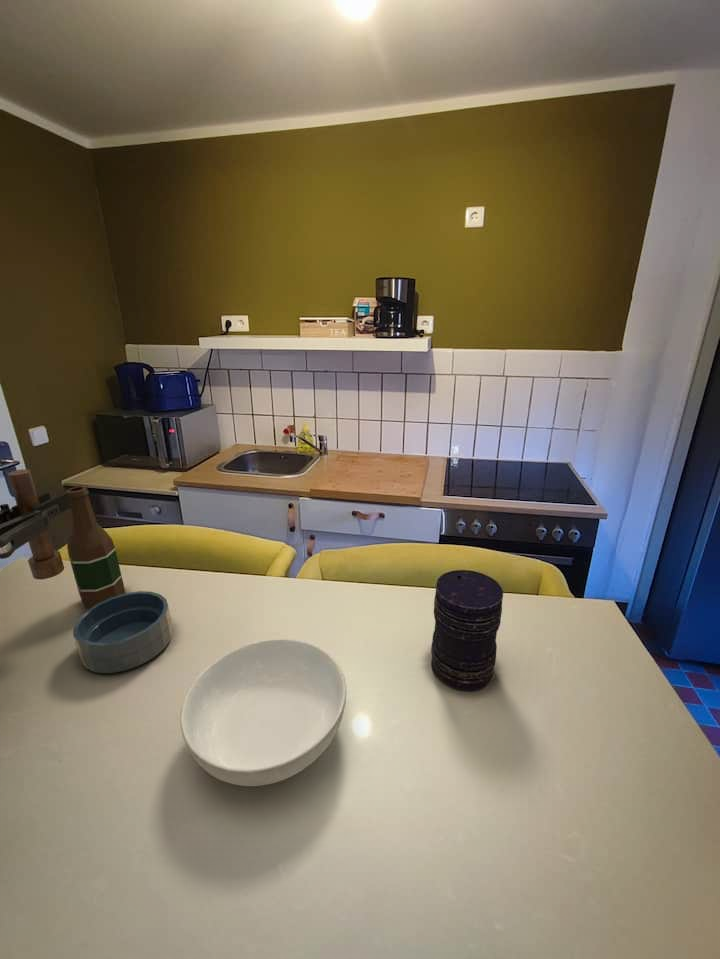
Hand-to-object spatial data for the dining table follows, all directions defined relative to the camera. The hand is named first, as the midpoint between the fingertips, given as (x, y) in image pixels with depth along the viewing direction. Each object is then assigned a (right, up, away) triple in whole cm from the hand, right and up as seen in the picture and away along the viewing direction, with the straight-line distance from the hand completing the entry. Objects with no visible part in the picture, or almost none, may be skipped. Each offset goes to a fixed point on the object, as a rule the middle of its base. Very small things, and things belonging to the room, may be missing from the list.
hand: (57, 499), depth 74 cm
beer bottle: (+1, -21, +12) cm, 24 cm away
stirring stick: (-1, -12, -1) cm, 12 cm away
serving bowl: (+40, -31, -16) cm, 53 cm away
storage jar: (+68, -27, -5) cm, 74 cm away
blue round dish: (+12, -25, 0) cm, 28 cm away
